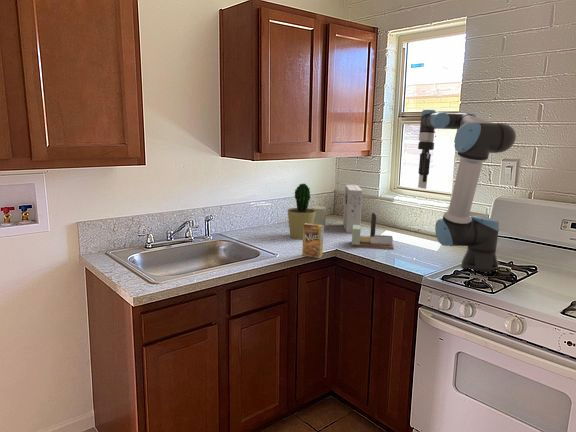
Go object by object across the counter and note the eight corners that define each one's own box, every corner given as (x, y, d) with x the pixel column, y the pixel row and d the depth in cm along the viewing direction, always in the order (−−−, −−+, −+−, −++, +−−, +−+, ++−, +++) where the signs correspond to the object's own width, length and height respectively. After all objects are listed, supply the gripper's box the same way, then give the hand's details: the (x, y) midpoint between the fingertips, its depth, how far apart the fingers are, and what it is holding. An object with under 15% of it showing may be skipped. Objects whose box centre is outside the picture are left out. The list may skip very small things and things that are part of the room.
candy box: (301, 255, 213) (303, 224, 210) (305, 253, 217) (306, 222, 214) (319, 258, 210) (321, 226, 207) (322, 256, 214) (324, 224, 211)
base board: (393, 249, 229) (393, 247, 229) (351, 246, 232) (351, 244, 232) (392, 244, 239) (392, 242, 239) (351, 241, 242) (352, 239, 242)
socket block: (359, 244, 231) (360, 229, 230) (351, 244, 232) (352, 229, 230) (359, 239, 241) (360, 225, 240) (352, 239, 242) (352, 224, 240)
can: (328, 225, 277) (329, 206, 275) (321, 228, 270) (322, 208, 267) (314, 223, 282) (315, 204, 280) (307, 226, 275) (308, 206, 272)
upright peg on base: (376, 242, 234) (378, 214, 231) (354, 241, 235) (356, 212, 232) (375, 241, 236) (378, 213, 233) (354, 240, 238) (356, 211, 235)
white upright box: (359, 233, 261) (362, 190, 255) (346, 233, 261) (349, 189, 256) (355, 225, 282) (357, 185, 277) (342, 224, 282) (345, 184, 277)
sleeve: (392, 245, 232) (392, 238, 231) (370, 244, 233) (370, 236, 233) (391, 243, 236) (392, 235, 235) (370, 241, 238) (370, 234, 237)
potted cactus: (298, 231, 260) (300, 179, 253) (320, 236, 250) (322, 182, 244) (280, 236, 248) (282, 182, 242) (303, 241, 238) (305, 185, 232)
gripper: (438, 141, 218) (433, 189, 221) (429, 142, 235) (425, 187, 239) (422, 140, 218) (418, 188, 221) (415, 141, 236) (411, 186, 239)
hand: (422, 188), depth 230 cm, fingers open, 5 cm apart
